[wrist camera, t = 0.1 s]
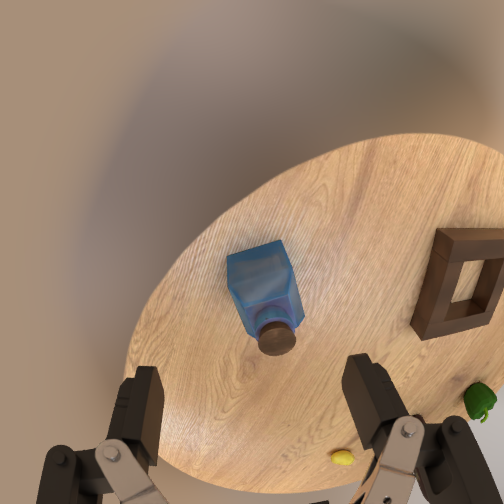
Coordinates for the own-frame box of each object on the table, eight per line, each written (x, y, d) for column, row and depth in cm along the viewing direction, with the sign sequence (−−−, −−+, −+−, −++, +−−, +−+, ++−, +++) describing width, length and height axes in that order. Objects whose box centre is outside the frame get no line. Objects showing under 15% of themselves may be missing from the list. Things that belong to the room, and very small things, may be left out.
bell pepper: (482, 373, 53) (501, 400, 44) (485, 383, 56) (503, 409, 47) (456, 395, 55) (473, 424, 46) (461, 403, 58) (477, 430, 49)
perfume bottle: (243, 299, 37) (252, 374, 26) (226, 256, 34) (228, 325, 23) (293, 285, 37) (319, 355, 26) (280, 239, 34) (306, 303, 23)
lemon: (343, 457, 61) (346, 470, 58) (324, 453, 58) (328, 466, 55) (356, 450, 60) (361, 462, 56) (339, 445, 57) (343, 459, 54)
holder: (436, 228, 35) (454, 240, 31) (503, 228, 36) (520, 238, 32) (409, 324, 42) (421, 341, 38) (476, 311, 43) (488, 324, 39)
